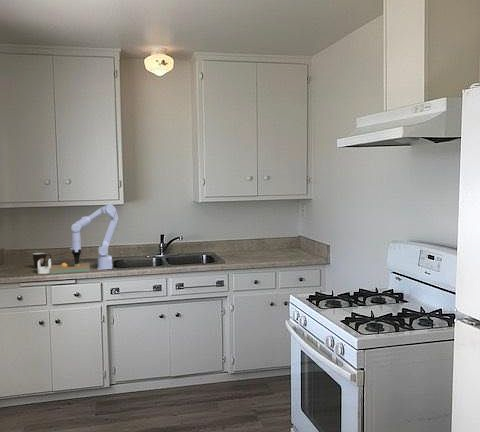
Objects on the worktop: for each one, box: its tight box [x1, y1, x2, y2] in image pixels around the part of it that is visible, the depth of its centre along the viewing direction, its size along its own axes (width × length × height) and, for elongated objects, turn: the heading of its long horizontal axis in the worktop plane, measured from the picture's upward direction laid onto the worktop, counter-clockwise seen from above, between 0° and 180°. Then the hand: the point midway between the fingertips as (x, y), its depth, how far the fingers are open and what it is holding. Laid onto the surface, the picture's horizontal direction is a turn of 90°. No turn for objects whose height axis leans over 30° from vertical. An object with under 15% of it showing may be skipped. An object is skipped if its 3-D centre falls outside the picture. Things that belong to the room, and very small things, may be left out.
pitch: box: [37, 258, 91, 275], centre depth 334 cm, size 32×12×8 cm, turn 108°
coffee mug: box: [32, 252, 52, 270], centre depth 349 cm, size 12×9×10 cm
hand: (76, 261), depth 337 cm, fingers open, 6 cm apart
